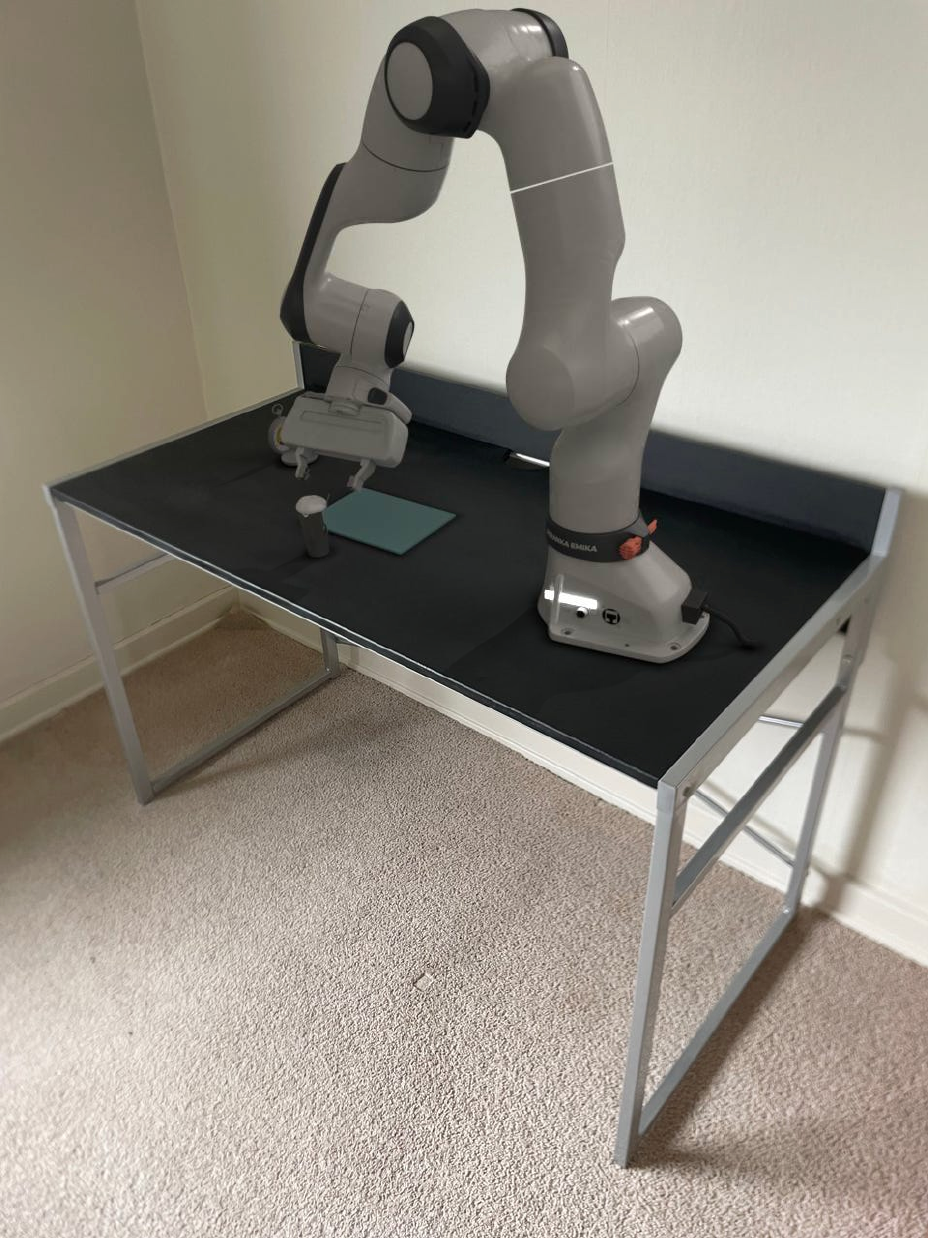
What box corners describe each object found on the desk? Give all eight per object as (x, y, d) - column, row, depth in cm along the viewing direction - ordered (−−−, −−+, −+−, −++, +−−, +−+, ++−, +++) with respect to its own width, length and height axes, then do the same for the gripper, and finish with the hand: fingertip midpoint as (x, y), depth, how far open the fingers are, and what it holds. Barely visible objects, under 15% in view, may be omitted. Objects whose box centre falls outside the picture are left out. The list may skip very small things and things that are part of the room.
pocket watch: (315, 467, 165) (307, 414, 159) (269, 469, 165) (259, 416, 160) (322, 448, 172) (314, 396, 166) (277, 450, 172) (268, 399, 167)
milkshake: (333, 561, 137) (324, 501, 131) (299, 559, 138) (288, 499, 132) (343, 546, 141) (334, 486, 135) (309, 544, 142) (299, 485, 136)
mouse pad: (455, 516, 146) (455, 514, 146) (400, 555, 137) (400, 553, 137) (361, 489, 157) (361, 486, 156) (304, 523, 148) (303, 521, 147)
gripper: (288, 380, 140) (259, 465, 138) (403, 397, 131) (374, 488, 130) (310, 398, 145) (282, 480, 144) (421, 415, 137) (393, 502, 135)
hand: (326, 484), depth 137 cm, fingers open, 8 cm apart
